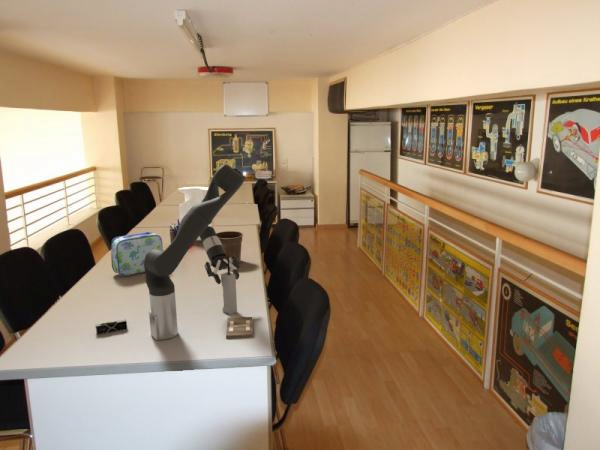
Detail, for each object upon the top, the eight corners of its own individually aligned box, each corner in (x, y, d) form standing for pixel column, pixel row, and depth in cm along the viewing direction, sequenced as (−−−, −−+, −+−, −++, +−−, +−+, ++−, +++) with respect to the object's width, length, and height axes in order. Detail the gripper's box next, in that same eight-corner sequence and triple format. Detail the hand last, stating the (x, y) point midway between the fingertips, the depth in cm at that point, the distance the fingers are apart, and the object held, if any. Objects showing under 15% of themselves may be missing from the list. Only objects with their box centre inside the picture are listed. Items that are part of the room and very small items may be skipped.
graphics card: (95, 336, 188) (94, 326, 186) (94, 332, 190) (93, 322, 188) (127, 330, 193) (126, 320, 191) (126, 326, 195) (125, 316, 193)
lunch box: (157, 264, 276) (154, 227, 271) (166, 268, 268) (163, 231, 263) (111, 274, 259) (107, 235, 254) (119, 279, 251) (115, 239, 246)
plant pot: (242, 266, 270) (241, 238, 266) (212, 266, 270) (211, 238, 266) (245, 257, 285) (244, 230, 282) (218, 258, 286) (216, 231, 282)
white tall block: (211, 243, 319) (180, 242, 322) (217, 238, 330) (187, 237, 333) (208, 189, 311) (177, 189, 314) (214, 187, 322) (184, 186, 325)
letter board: (252, 336, 185) (252, 333, 184) (226, 338, 184) (225, 335, 183) (252, 319, 200) (252, 316, 200) (227, 320, 199) (227, 318, 199)
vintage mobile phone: (229, 309, 211) (226, 253, 205) (237, 312, 208) (234, 255, 202) (222, 311, 208) (219, 255, 203) (230, 314, 205) (227, 257, 200)
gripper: (226, 250, 219) (240, 281, 213) (196, 256, 211) (210, 289, 204) (231, 241, 214) (246, 272, 207) (201, 247, 205) (216, 280, 199)
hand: (228, 280), depth 206 cm, fingers open, 8 cm apart
